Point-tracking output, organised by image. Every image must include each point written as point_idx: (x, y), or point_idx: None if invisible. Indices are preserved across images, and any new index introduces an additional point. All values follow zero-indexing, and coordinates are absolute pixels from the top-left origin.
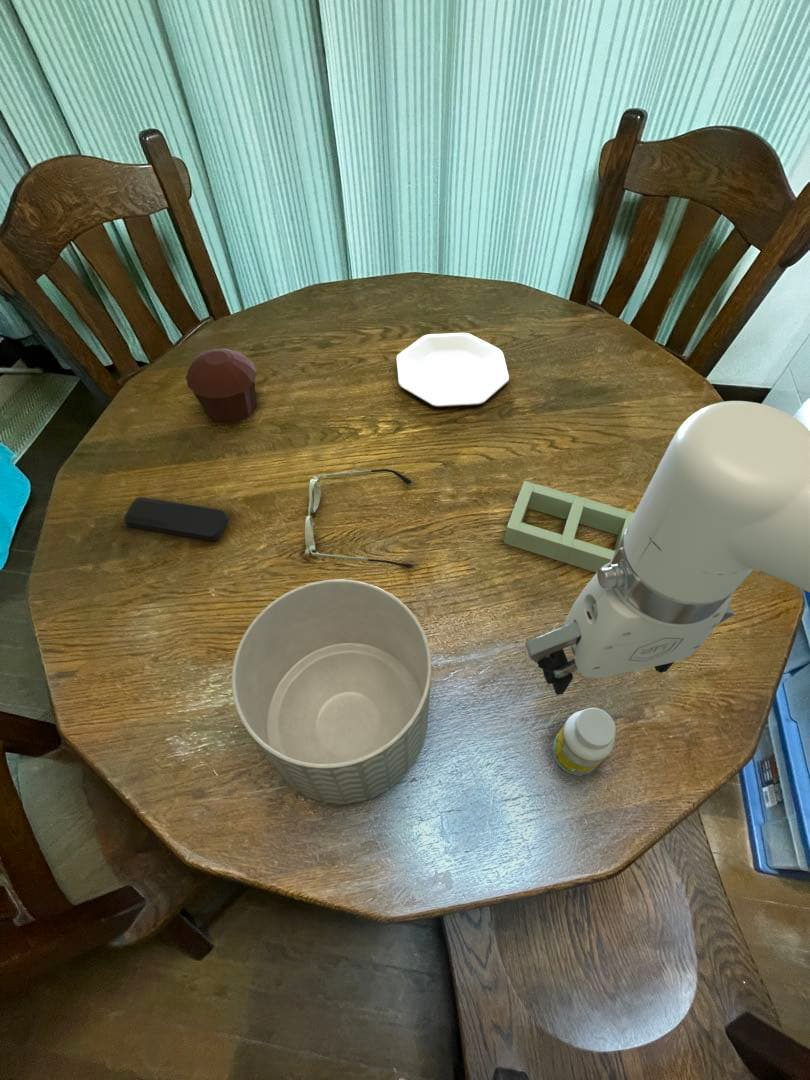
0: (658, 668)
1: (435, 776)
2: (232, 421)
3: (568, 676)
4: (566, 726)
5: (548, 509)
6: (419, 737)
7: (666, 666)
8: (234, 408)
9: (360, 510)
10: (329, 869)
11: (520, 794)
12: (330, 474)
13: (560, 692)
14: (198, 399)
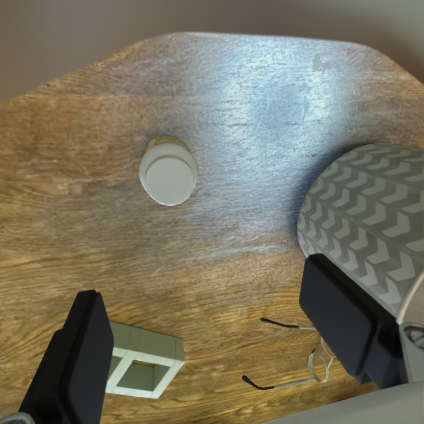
0: (97, 302)
1: (296, 155)
2: (341, 400)
3: (389, 325)
4: (194, 185)
5: (136, 370)
6: (362, 192)
7: (80, 321)
8: None
9: (283, 354)
10: (396, 94)
11: (230, 127)
12: (303, 382)
13: (327, 260)
14: None
